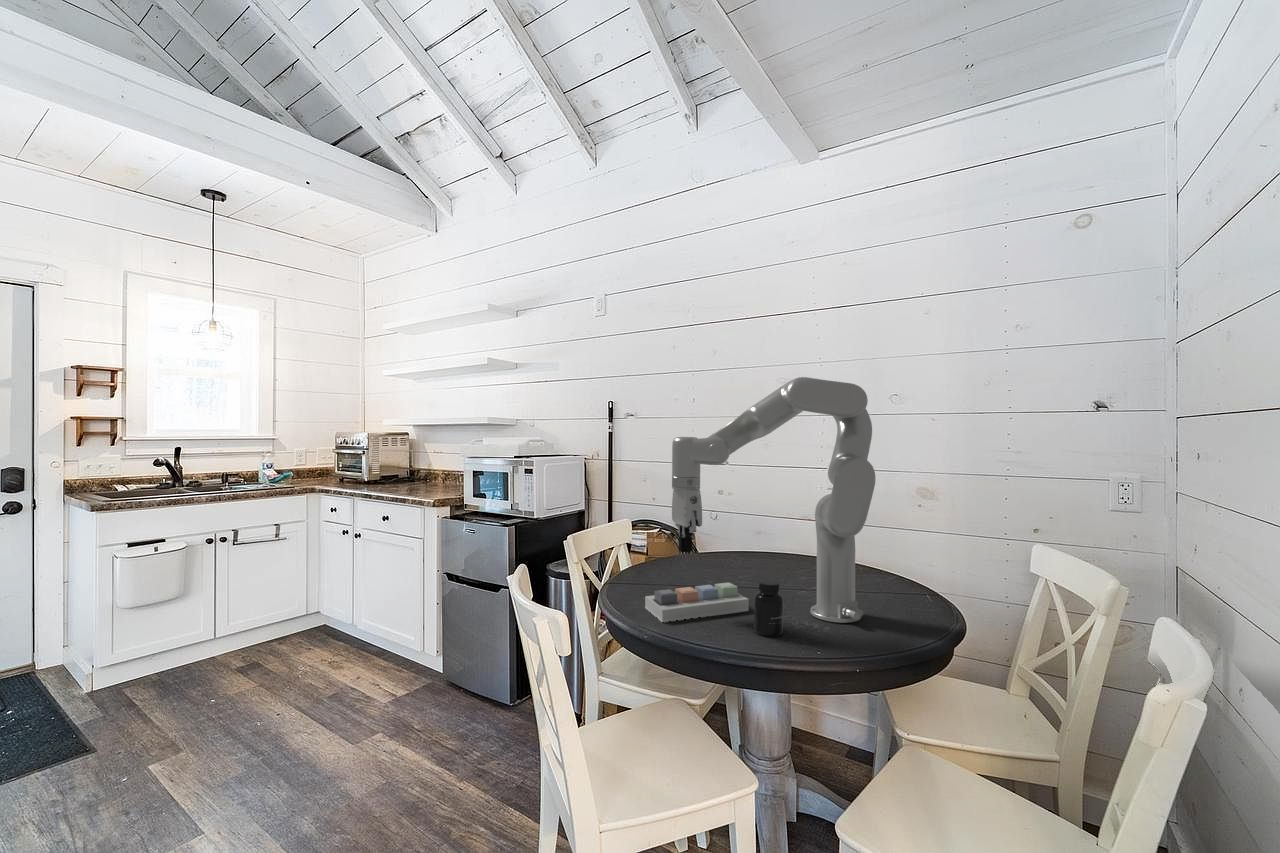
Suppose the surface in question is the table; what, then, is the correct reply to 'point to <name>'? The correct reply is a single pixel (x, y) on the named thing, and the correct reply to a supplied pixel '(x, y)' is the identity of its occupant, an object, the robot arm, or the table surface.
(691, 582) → the table surface
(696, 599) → the key terracotta
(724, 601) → the keypad
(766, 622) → the supplement bottle
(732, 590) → the key sage
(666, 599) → the key charcoal
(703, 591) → the key slate
